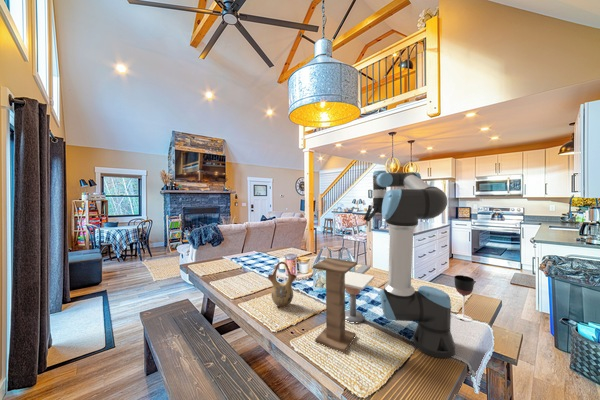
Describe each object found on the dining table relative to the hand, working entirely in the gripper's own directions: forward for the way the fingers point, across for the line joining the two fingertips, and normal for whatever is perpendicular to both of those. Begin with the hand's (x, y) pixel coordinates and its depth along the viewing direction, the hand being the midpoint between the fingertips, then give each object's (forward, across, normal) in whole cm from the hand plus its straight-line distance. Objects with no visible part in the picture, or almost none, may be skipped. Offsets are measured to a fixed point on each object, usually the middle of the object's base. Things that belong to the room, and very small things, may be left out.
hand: (379, 233), depth 142 cm
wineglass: (+39, -40, -10) cm, 57 cm away
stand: (+39, -8, +50) cm, 64 cm away
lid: (+19, -2, +25) cm, 32 cm away
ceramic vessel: (+39, +32, +48) cm, 70 cm away
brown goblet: (+39, -3, +30) cm, 49 cm away
